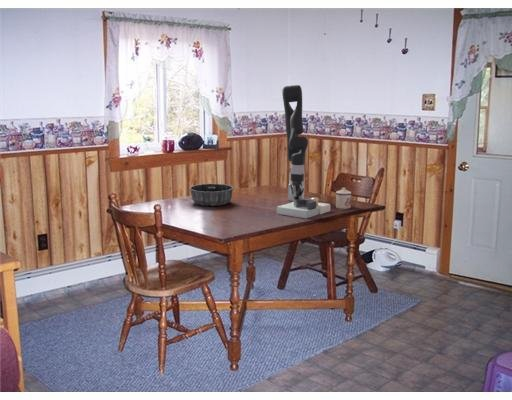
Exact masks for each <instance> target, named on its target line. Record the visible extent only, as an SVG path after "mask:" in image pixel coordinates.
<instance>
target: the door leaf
mask: <svg viewBox="0 0 512 400" xmlns="http://www.w3.org/2000/svg"><path fill="white" fill-rule="evenodd" d="M276 214H277V215H284V216H289V217H293V218H294V217H296V218H302V219H309V218H311V217H314V216H317V215H319V214H318V207H316V208H315V209H312V210H307V206H299V207H296V206H294V204H292V202H288V203H286V204H282V205H278V206H276Z"/></svg>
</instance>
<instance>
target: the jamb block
mask: <svg viewBox="0 0 512 400" xmlns="http://www.w3.org/2000/svg"><path fill="white" fill-rule="evenodd" d="M291 203H292V204H294V201H291ZM316 207H318V215H323V214H325V213H328V212H331V204H330V203H325V202H319V201H318V205H316Z"/></svg>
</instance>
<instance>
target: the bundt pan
mask: <svg viewBox="0 0 512 400" xmlns="http://www.w3.org/2000/svg"><path fill="white" fill-rule="evenodd" d="M234 188H235V187H234V186H233V185H229V184H226V183H225V184H223V183H221V184H220V183H201V184H195V185H192V186H190V187H189V190H190V194H191V200H192V201H193V203H195V204H196V205H199V206H205V207H209V206H211V207H215V206H217V207H218V206H219V207H220V206H223V205H228V204H229V203H230V202H231V200H232V196H233V190H234Z"/></svg>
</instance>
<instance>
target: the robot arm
mask: <svg viewBox="0 0 512 400" xmlns="http://www.w3.org/2000/svg"><path fill="white" fill-rule="evenodd" d="M281 92H282V100H283V101H282V102H283V108H284V122H285V131H286V132H285V133H286V143H287V144H286V145H287V146H286V148H287V150H286V151H287V153H286V154H287V155H286V156H287V159H288V161H289V162H290V163H291V164H290V165H291V166H290V168H289V181H288V182H289V184H287V201H291V202H294V200H295V199H305V173H306V171H305V167H306V166H305V165H306V156H307V155H306V151H307V148H308V145H309V139H308V138H307V137H306V136H300V135H302V134H303V132H304V123H303V91H302V87H301V85H299V84H295V85H286V86H283V87H282V90H281ZM295 102H296V106H295V109H293V107H292V106H291V104H290V103H295Z"/></svg>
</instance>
